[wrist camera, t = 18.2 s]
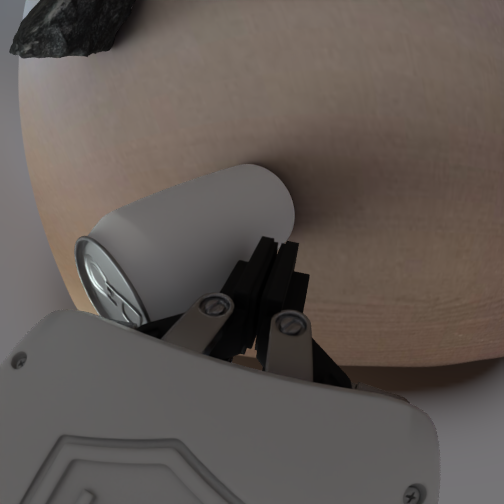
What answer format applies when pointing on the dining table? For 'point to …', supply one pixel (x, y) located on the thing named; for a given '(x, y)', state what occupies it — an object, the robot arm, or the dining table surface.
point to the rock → (70, 28)
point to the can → (180, 242)
